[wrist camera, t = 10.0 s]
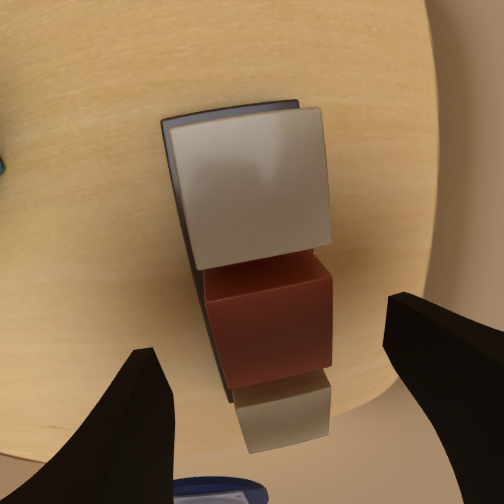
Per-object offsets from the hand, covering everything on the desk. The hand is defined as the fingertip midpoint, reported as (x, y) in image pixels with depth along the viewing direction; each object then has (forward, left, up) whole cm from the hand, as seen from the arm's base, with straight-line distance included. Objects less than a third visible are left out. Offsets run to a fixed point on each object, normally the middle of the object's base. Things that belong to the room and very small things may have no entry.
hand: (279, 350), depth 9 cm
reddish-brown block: (0, 0, -4) cm, 4 cm away
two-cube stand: (0, 0, -5) cm, 5 cm away
